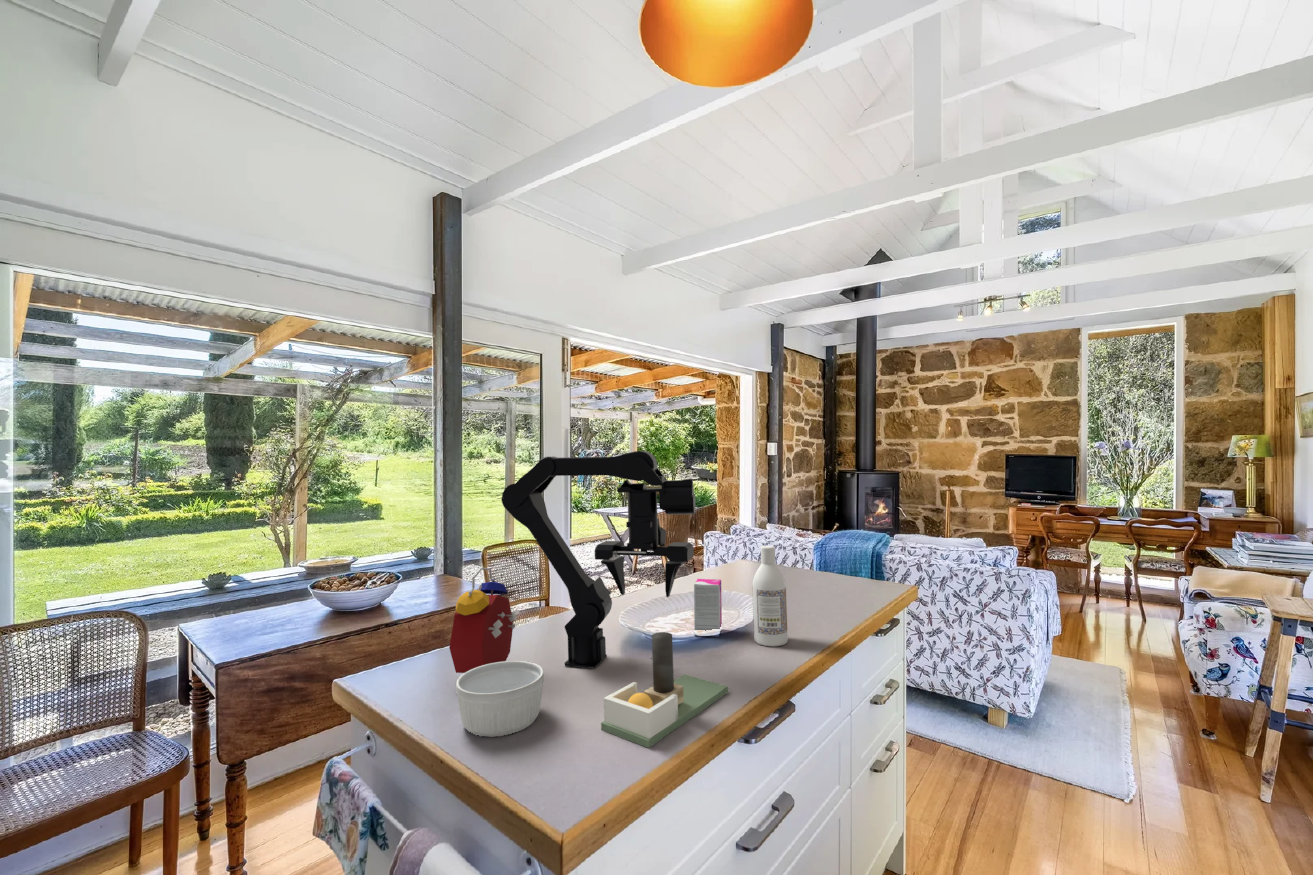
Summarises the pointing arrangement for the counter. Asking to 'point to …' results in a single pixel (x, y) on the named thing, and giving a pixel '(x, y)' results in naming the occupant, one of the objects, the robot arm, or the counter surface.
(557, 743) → the counter surface
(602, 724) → the board
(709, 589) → the supplement box
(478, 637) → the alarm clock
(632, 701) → the ball
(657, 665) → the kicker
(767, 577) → the bath foam
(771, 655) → the counter surface
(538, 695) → the ramekin
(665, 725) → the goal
